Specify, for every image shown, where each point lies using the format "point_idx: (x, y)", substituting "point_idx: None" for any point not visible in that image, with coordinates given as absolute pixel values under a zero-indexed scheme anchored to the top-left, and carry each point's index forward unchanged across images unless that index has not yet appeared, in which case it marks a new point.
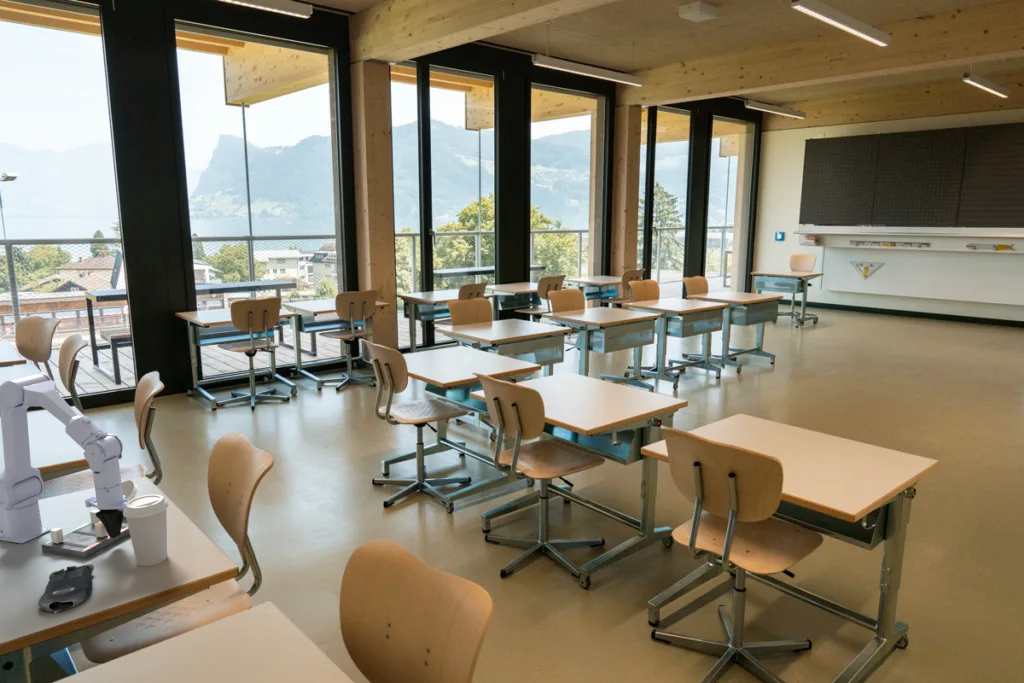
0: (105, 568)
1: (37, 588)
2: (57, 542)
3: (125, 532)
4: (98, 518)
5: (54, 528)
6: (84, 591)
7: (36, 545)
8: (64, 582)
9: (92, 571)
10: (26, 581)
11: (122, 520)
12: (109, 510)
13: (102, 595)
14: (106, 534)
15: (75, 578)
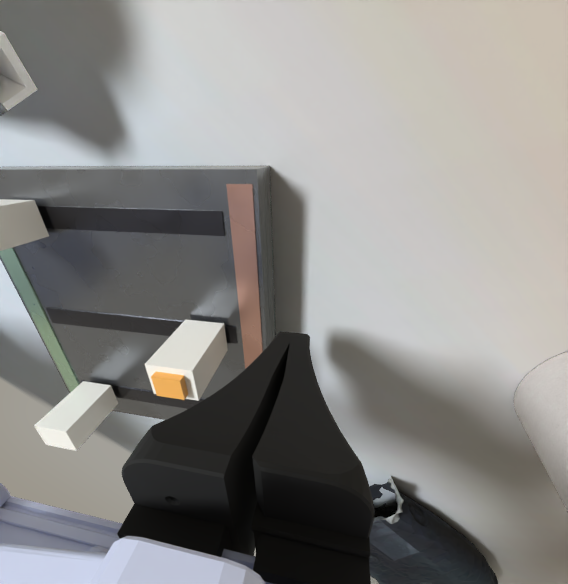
0: (407, 449)
1: None
2: (115, 406)
3: (264, 250)
4: (12, 230)
5: (40, 431)
6: None
7: (31, 352)
8: (397, 570)
9: (395, 486)
10: None
11: (321, 396)
12: (240, 547)
13: (521, 549)
14: (223, 331)
15: (413, 559)
